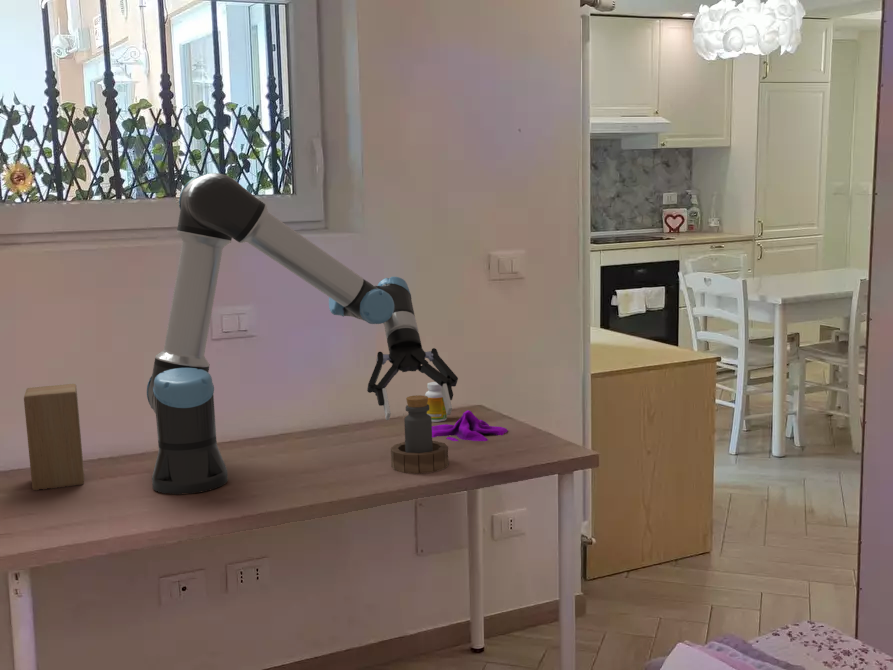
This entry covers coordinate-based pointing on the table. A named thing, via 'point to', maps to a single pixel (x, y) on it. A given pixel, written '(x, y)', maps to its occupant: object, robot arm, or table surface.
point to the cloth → (467, 429)
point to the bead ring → (419, 459)
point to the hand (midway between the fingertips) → (419, 414)
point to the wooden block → (54, 436)
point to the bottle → (418, 425)
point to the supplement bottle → (436, 403)
